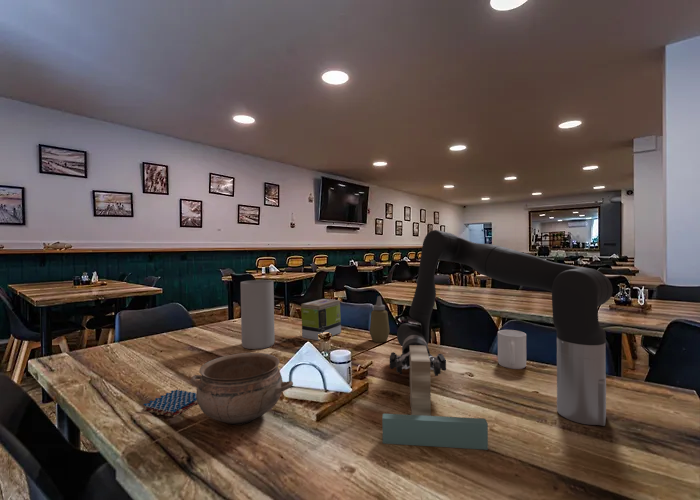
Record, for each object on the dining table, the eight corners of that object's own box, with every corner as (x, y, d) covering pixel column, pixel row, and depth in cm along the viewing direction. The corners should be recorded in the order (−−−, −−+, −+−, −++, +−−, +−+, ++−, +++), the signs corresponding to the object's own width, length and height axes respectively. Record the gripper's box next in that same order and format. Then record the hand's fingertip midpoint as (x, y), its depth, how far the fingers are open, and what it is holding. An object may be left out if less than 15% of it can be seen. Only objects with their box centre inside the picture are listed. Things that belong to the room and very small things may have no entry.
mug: (527, 375, 104) (527, 340, 104) (497, 371, 108) (496, 337, 107) (525, 362, 115) (525, 331, 115) (498, 359, 118) (498, 328, 118)
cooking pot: (165, 434, 75) (163, 377, 74) (215, 396, 93) (214, 349, 93) (276, 445, 70) (275, 384, 69) (306, 402, 88) (305, 354, 88)
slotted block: (410, 400, 89) (409, 345, 88) (426, 401, 88) (425, 345, 88) (412, 425, 77) (411, 361, 77) (430, 426, 76) (430, 361, 76)
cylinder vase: (270, 349, 133) (269, 283, 132) (237, 350, 133) (235, 283, 132) (277, 340, 145) (276, 279, 145) (247, 340, 145) (246, 280, 145)
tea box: (324, 330, 161) (323, 298, 161) (341, 333, 155) (341, 299, 155) (301, 337, 149) (300, 302, 149) (319, 341, 143) (318, 305, 143)
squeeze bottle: (366, 342, 140) (366, 297, 140) (373, 337, 148) (372, 294, 147) (386, 344, 137) (385, 298, 137) (392, 339, 145) (391, 295, 144)
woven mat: (174, 420, 81) (174, 411, 81) (140, 413, 85) (140, 404, 85) (207, 401, 91) (207, 393, 91) (176, 395, 95) (175, 387, 95)
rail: (485, 443, 69) (485, 418, 69) (487, 449, 67) (487, 423, 67) (383, 437, 72) (382, 413, 72) (382, 443, 70) (382, 418, 70)
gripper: (390, 337, 102) (388, 355, 86) (440, 338, 100) (448, 356, 84) (390, 363, 103) (389, 385, 86) (440, 364, 101) (449, 387, 85)
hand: (418, 371), depth 85 cm, fingers open, 8 cm apart
